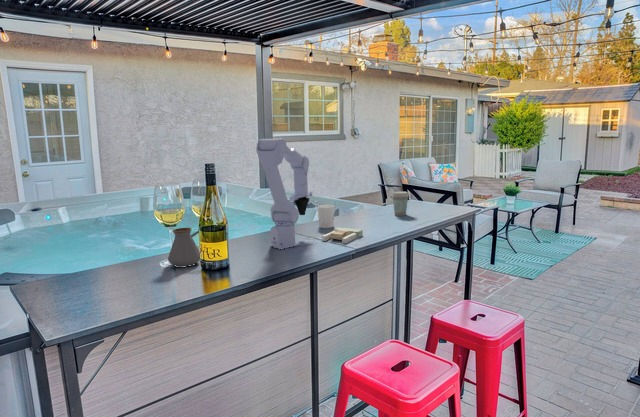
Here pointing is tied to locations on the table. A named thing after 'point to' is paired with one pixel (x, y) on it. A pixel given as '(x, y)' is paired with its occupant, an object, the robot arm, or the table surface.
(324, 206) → the white cup
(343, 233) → the tan block
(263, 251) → the table surface
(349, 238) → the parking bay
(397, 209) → the coffee cup
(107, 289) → the table surface
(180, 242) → the coffee pot
